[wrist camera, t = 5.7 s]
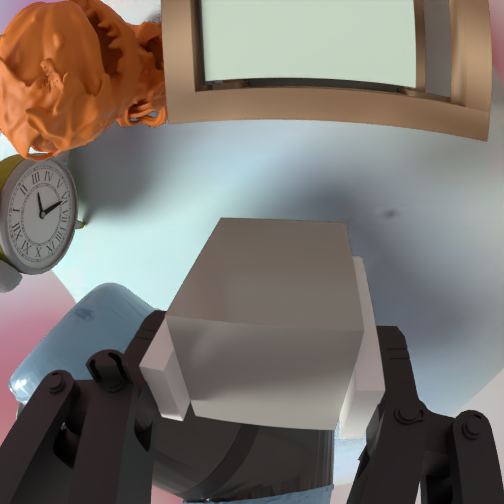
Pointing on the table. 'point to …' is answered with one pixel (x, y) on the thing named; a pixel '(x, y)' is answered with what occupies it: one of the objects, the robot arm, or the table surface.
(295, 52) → the hatch
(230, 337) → the grey block
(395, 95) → the frame
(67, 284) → the table surface
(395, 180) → the table surface
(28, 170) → the alarm clock
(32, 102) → the orange sculpture
